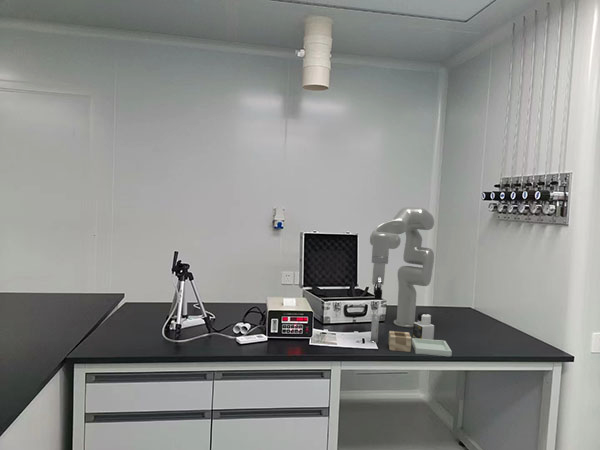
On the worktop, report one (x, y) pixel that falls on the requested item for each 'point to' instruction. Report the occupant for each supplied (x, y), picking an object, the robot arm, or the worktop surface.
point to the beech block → (399, 341)
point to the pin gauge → (374, 328)
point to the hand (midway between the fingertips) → (377, 296)
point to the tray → (431, 347)
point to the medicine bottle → (423, 327)
